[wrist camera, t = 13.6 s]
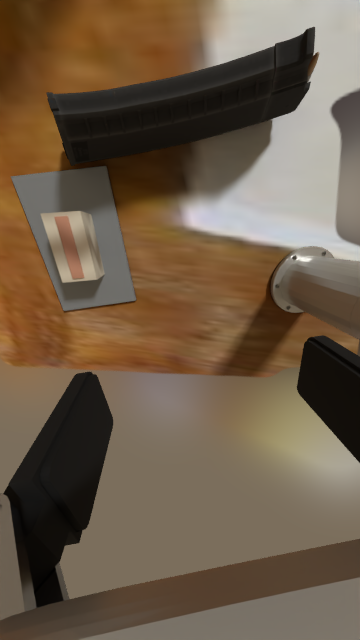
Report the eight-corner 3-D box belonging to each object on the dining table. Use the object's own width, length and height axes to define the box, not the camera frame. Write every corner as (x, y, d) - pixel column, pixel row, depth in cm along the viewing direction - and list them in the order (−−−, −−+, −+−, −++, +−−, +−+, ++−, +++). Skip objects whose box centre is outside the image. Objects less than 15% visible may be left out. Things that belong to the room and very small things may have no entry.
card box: (104, 274, 33) (96, 279, 29) (74, 276, 33) (61, 283, 28) (91, 214, 29) (79, 210, 25) (57, 216, 29) (39, 213, 25)
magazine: (15, 146, 19) (387, -21, 12) (-5, 102, 18) (401, -120, 10) (105, 179, 34) (293, 116, 27) (98, 156, 33) (294, 83, 25)
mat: (106, 167, 28) (105, 165, 27) (136, 299, 36) (135, 300, 35) (13, 177, 27) (10, 176, 27) (65, 309, 35) (63, 310, 35)
